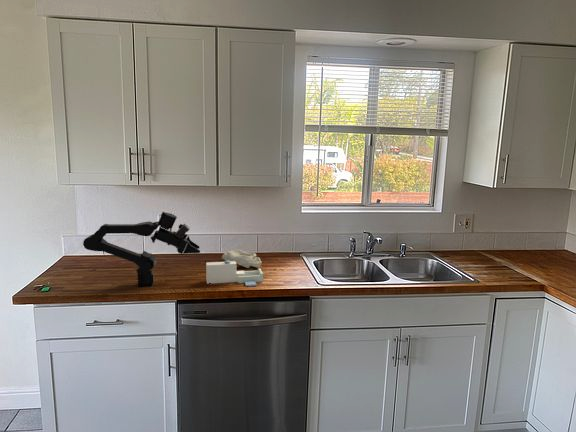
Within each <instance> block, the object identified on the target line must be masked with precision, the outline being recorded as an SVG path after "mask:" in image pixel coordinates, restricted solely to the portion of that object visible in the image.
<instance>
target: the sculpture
mask: <svg viewBox="0 0 576 432" xmlns="http://www.w3.org/2000/svg"><path fill="white" fill-rule="evenodd" d="M221 259H222V260H223V261H224V262H225V261H227V260H228V261H236V264H237V265H240V266H242V267H244V268H246V269H250V267H253V268H255V269H256V268H257V269H258V268H259V267H260V266H261V265H262V263H263V261H261V258H260V257H259V256H257V254H256V253H255V252H245V251H243V250H240V249H232V250H230V251H229V250H227V251H226V252H224V253H223V254H222V256H221Z"/></svg>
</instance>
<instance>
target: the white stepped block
mask: <svg viewBox="0 0 576 432" xmlns="http://www.w3.org/2000/svg"><path fill="white" fill-rule="evenodd" d="M205 264H206V265H205V266H206V267H205V270H206V274H205V275H206V276H205V277H206V284H207V285H208V284H209V283H211V284H223V283H224V284H225V283H238V276H245V272H244V271H245V270H237V267H238V266H237V265H238V264H237V263H236V261H228V260H227V261H225V260H224V261H211V262H206V263H205Z"/></svg>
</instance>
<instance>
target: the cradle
mask: <svg viewBox="0 0 576 432" xmlns="http://www.w3.org/2000/svg"><path fill="white" fill-rule="evenodd" d="M243 271H244V272H245V276H238V282H237V284H243V283H244V285H245V287H247V286H248V287H257V285H258V284H257V283H263V282H264V272H263V271H262V269H261V268H259V267H258V268H257V270H243ZM248 287H247V288H248Z"/></svg>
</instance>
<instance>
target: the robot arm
mask: <svg viewBox="0 0 576 432" xmlns="http://www.w3.org/2000/svg"><path fill="white" fill-rule="evenodd" d="M177 219H178V216H176V215H175V214H173V213H170V212H165V211H162V212H161V214H160V218H159V220H158V221H154V222H153V221H150V220H149V221H142V222H139V223H134V224H133V223H132V224H131V223H130V224H127V223H126V224H125V223H124V224H121V223H120V224H117V223H116V224H111V223H110V224H108V223H104V224H103V225H101V226H100V227H99V228H98V230H96V231H95V232H94V233H93V234H90V235H89V236H87V237H85V238H84V239H83V241H82V244H83V245H82V246H83V247H84V249H85V250H87V251H88V250H89V251H92V252H103V253H106V254H109V255H111V256H115V257H118V258H120V259H124V260H127V261H129V262H132V263H134V264H135V265H136V266H137V268H136V274H137V287H138V288H139V287H153V285H154V283H155V274H154V273H153V268H154V267H155V265H156V264H157V258H156V256H155V255H153V253H150V252H147V251H145V250H143V251H142V252H141V253H139V252H135V251H132V250H130V249H126V248H124V247H121V246H119V245H115V244H114V243H110V242H108V241H107V240H106V239H104V237H105V236H106V235H107V234H108V235H109V234H134V235H137V236H143V237H150V239H151V242H152V243H153V244H154V243H155V242H156V240H157V241H159V242H162V243H165V244H167V245H168V246H172V247H174V248H176V251H177V253H178V254H181V255H184V254H200V253H201V250H200V245H198V244H196V243H195V242H193V240H192V239H190V236H189V235H188V234H187V232H189V231H190V227H189V226H188V225H187V224H186V223H183V224H181V223H180V224H179V225H178V229H177V231H171V229H172V228H173V227H174V224H175V222H176V220H177ZM151 235H152V236H151Z"/></svg>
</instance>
